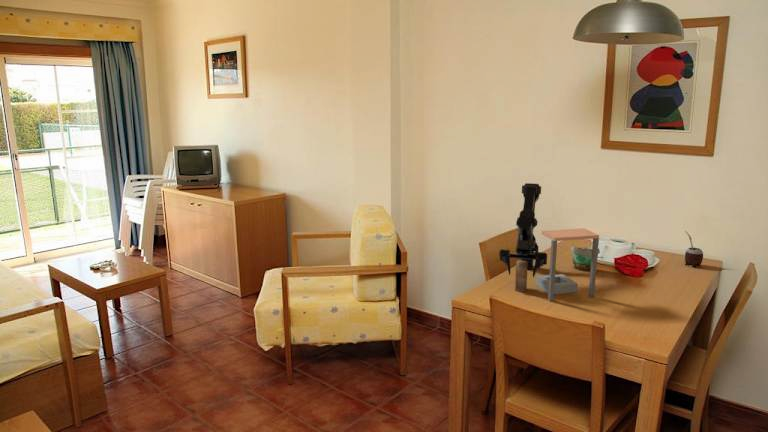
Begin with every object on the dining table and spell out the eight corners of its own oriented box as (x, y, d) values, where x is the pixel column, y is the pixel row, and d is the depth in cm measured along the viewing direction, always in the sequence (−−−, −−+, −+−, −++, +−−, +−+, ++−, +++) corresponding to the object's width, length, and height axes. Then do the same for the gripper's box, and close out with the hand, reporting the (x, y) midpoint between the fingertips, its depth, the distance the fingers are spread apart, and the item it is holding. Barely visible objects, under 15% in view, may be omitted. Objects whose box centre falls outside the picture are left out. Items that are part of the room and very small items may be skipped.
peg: (513, 288, 216) (514, 260, 213) (524, 288, 216) (525, 260, 213) (517, 292, 212) (518, 263, 209) (527, 292, 212) (529, 263, 209)
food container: (567, 269, 238) (569, 248, 236) (569, 265, 243) (571, 244, 241) (597, 273, 232) (598, 251, 230) (598, 269, 238) (600, 248, 235)
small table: (528, 284, 220) (531, 225, 214) (569, 281, 223) (573, 223, 218) (550, 301, 202) (554, 238, 196) (594, 297, 205) (599, 235, 199)
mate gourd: (702, 269, 236) (706, 236, 233) (682, 266, 240) (686, 234, 236) (700, 264, 243) (704, 232, 240) (681, 262, 246) (685, 231, 243)
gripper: (500, 230, 215) (496, 264, 208) (548, 233, 209) (545, 268, 202) (502, 243, 224) (498, 276, 217) (548, 247, 218) (545, 281, 211)
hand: (521, 275), depth 211 cm, fingers open, 9 cm apart
